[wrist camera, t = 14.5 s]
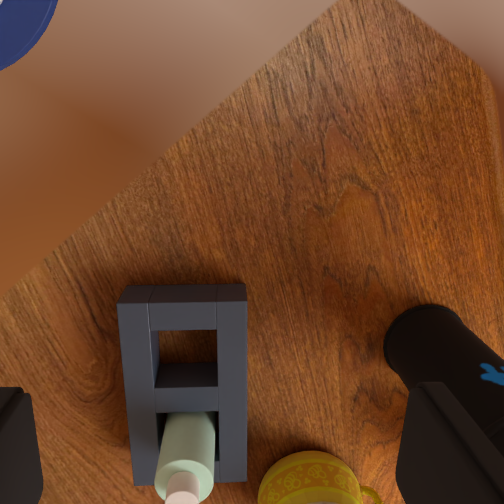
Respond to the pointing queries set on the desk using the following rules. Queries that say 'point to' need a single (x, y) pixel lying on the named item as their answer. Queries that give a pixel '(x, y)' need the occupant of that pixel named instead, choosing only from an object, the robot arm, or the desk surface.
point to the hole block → (184, 371)
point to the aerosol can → (449, 363)
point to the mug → (312, 481)
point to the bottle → (186, 457)
